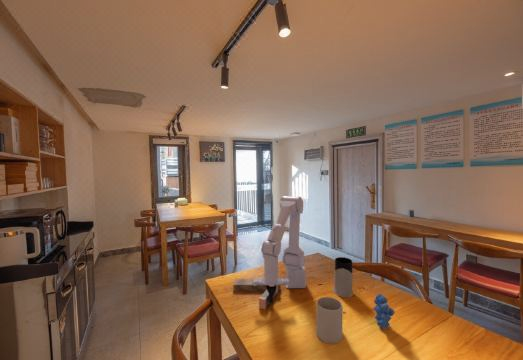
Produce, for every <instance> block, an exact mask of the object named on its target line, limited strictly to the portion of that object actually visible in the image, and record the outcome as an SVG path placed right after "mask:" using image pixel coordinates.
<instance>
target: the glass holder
mask: <svg viewBox="0 0 523 360" xmlns="http://www.w3.org/2000/svg"><path fill="white" fill-rule="evenodd" d="M353 273H354V272H353V260H352V259H351V258H348V257H344V256H343V257H339V256H338V257H336V258H335V259H334V281H333V282H334V283H333V285H334V288H333V290H332V291H333V294H335V295H336V296H339V297H342V298H351V297H353V296H354V291H353V277H354V276H353Z"/></svg>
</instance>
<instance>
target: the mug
mask: <svg viewBox="0 0 523 360" xmlns="http://www.w3.org/2000/svg"><path fill="white" fill-rule="evenodd" d="M343 309H344V308H343V303H342V302H341V301H340V300H339V299H337V298H334V297H331V296H330V297H329V296H324V297H320V298H318V299H317V301H316V328H315V329H316V330H315V331H316V336H317V337H318V339H319V340H321V341H322V342H325V343H327V344H333V345H334V344H338V343H340V342H341V341H342V339H343V314H344V313H343V311H344V310H343Z"/></svg>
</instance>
